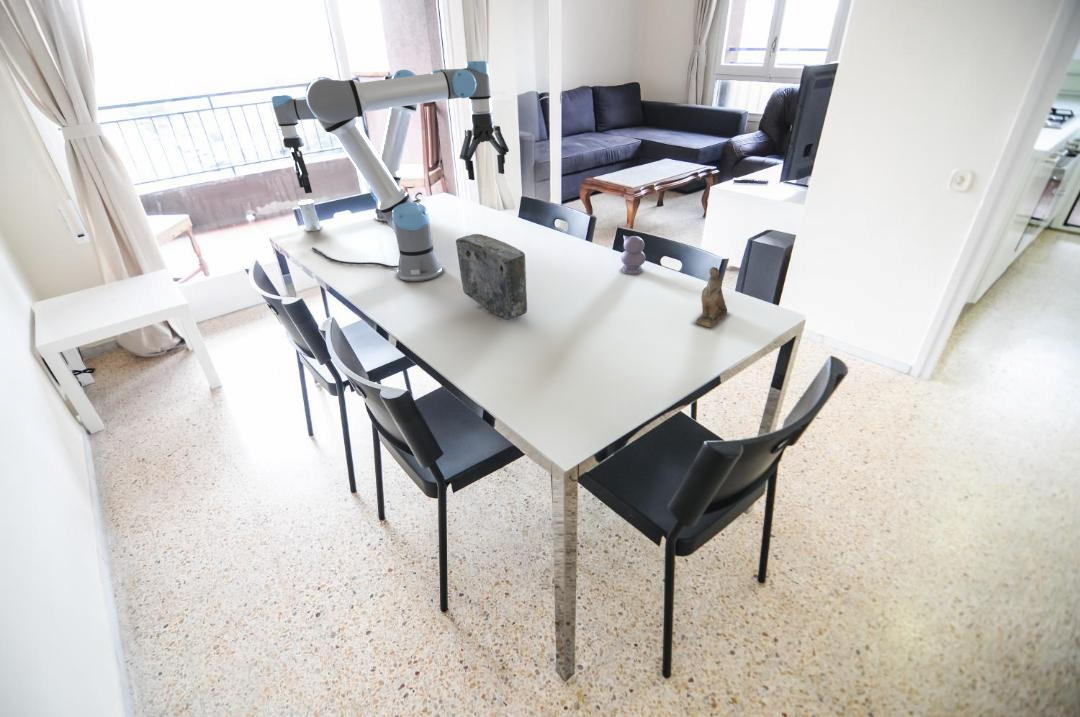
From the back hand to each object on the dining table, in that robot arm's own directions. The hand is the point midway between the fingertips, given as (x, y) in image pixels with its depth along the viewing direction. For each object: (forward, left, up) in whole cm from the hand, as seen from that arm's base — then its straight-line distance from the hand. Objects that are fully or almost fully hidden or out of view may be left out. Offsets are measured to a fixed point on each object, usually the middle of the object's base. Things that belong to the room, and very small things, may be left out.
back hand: (306, 190), depth 214 cm
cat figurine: (+14, +144, -18) cm, 146 cm away
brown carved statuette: (+44, +172, -18) cm, 178 cm away
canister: (-3, -5, -18) cm, 19 cm away
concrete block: (+54, +111, -18) cm, 125 cm away
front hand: (+2, +87, +9) cm, 88 cm away
